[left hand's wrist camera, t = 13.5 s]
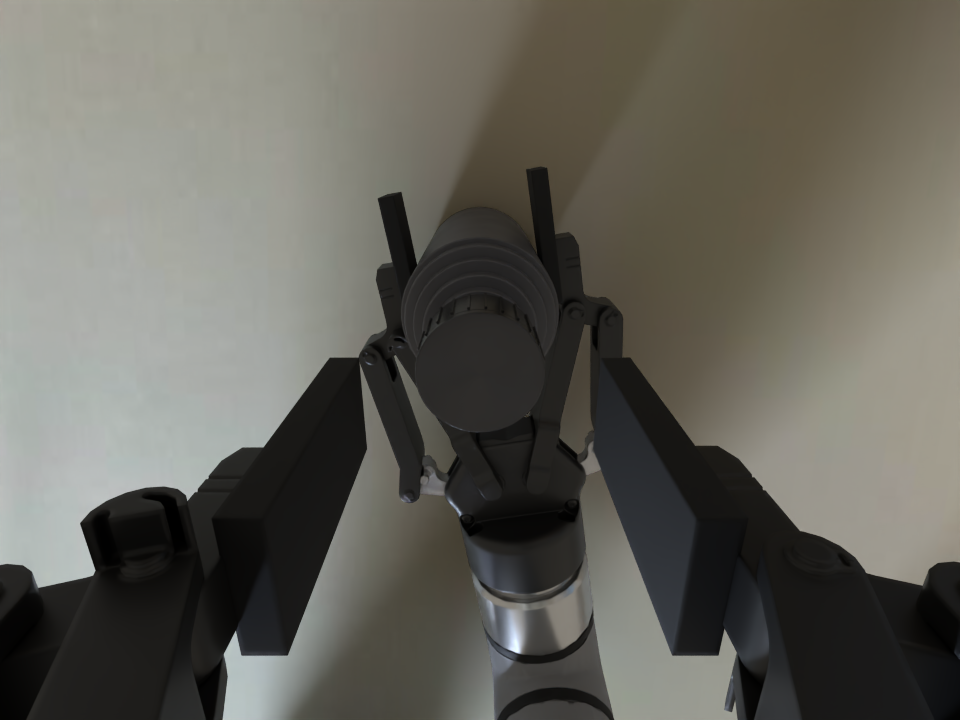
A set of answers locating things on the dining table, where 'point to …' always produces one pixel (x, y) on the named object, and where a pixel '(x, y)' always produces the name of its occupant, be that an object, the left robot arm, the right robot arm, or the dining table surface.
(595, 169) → the dining table surface
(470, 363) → the cap
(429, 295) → the bottle
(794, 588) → the left robot arm
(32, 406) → the dining table surface
